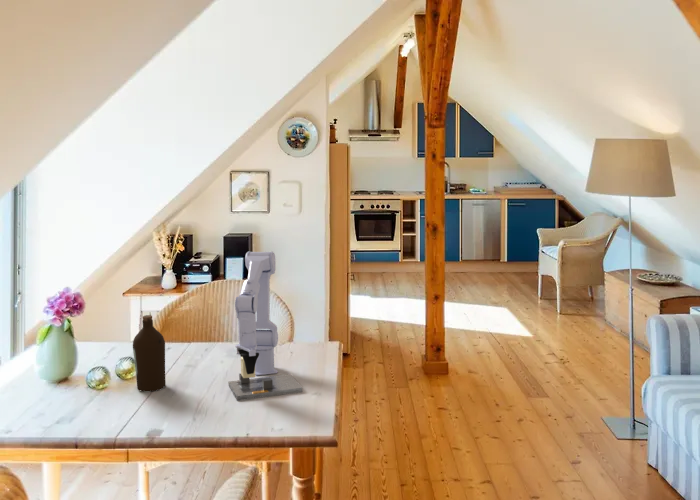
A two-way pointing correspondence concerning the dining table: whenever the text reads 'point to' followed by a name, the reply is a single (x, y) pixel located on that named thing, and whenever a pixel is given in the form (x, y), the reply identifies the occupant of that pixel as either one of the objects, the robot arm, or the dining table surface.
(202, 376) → the dining table surface
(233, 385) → the panel
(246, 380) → the block
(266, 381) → the breaker tagged
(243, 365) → the cap
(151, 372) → the olive oil
